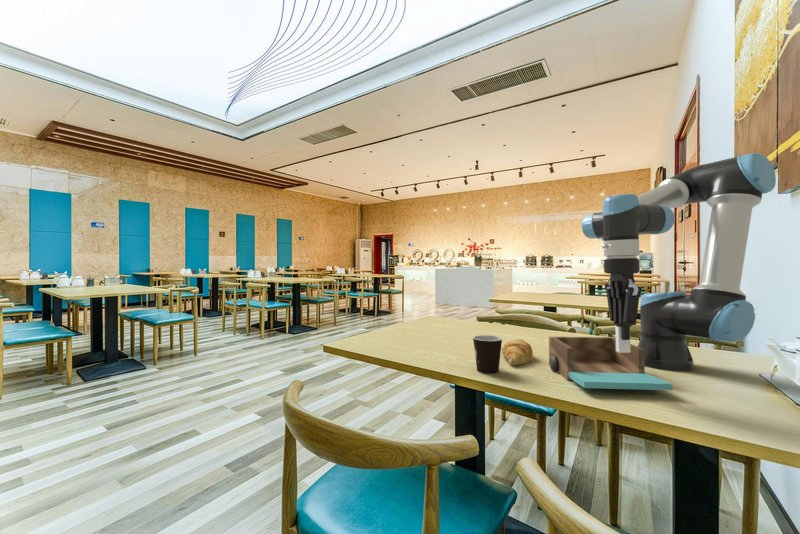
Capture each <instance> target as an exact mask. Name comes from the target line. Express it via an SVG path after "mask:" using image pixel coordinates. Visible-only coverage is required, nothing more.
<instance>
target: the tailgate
mask: <svg viewBox="0 0 800 534" xmlns="http://www.w3.org/2000/svg"><path fill="white" fill-rule="evenodd" d="M568 376H569V378H571V379H572V380H574V381H573V382H575V383H577V384H578V385H579V386H581V387H583V388H584V389H612V390H613V389H615V390H648V391H673V384H672V383H671V382H668V381H665V380H663V379H661V378H659V377H656V376H653V375H651V374H648V373H645V374H639V373H595V372H569V373H568Z"/></svg>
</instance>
